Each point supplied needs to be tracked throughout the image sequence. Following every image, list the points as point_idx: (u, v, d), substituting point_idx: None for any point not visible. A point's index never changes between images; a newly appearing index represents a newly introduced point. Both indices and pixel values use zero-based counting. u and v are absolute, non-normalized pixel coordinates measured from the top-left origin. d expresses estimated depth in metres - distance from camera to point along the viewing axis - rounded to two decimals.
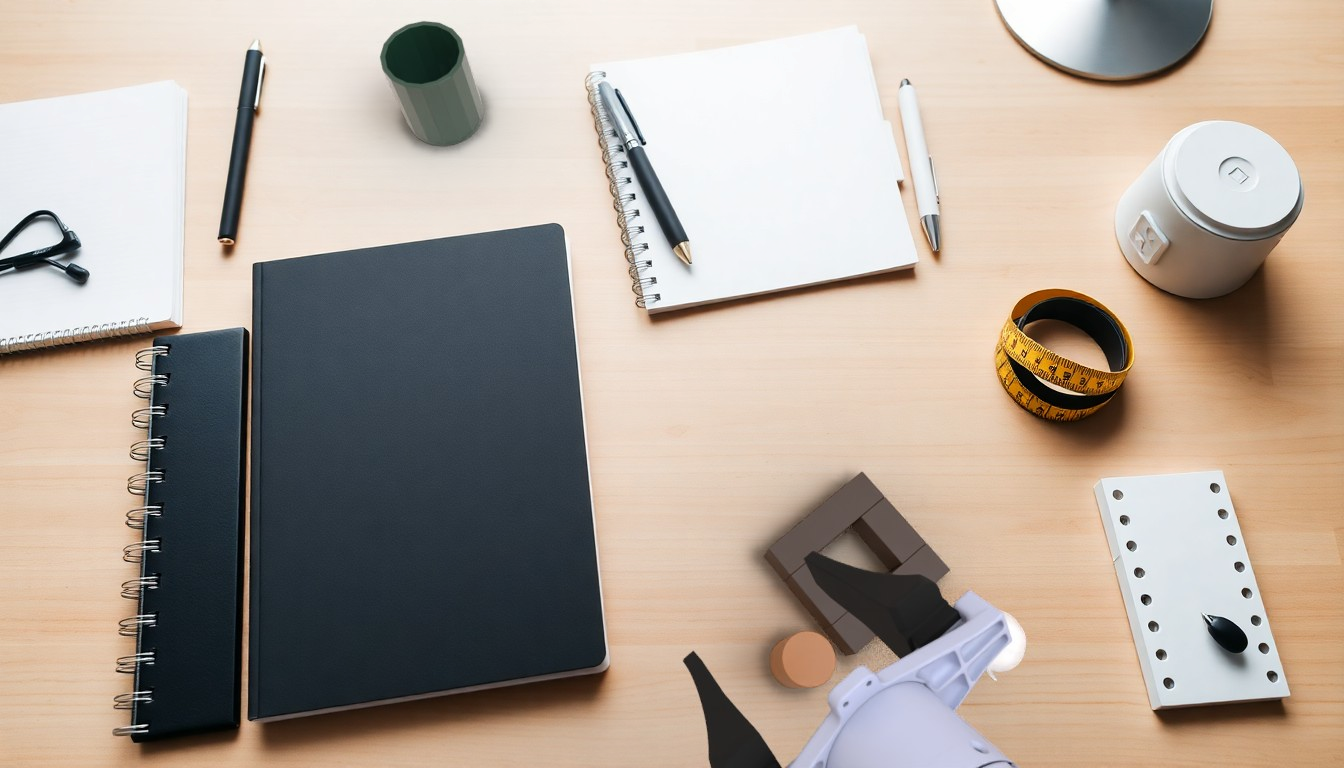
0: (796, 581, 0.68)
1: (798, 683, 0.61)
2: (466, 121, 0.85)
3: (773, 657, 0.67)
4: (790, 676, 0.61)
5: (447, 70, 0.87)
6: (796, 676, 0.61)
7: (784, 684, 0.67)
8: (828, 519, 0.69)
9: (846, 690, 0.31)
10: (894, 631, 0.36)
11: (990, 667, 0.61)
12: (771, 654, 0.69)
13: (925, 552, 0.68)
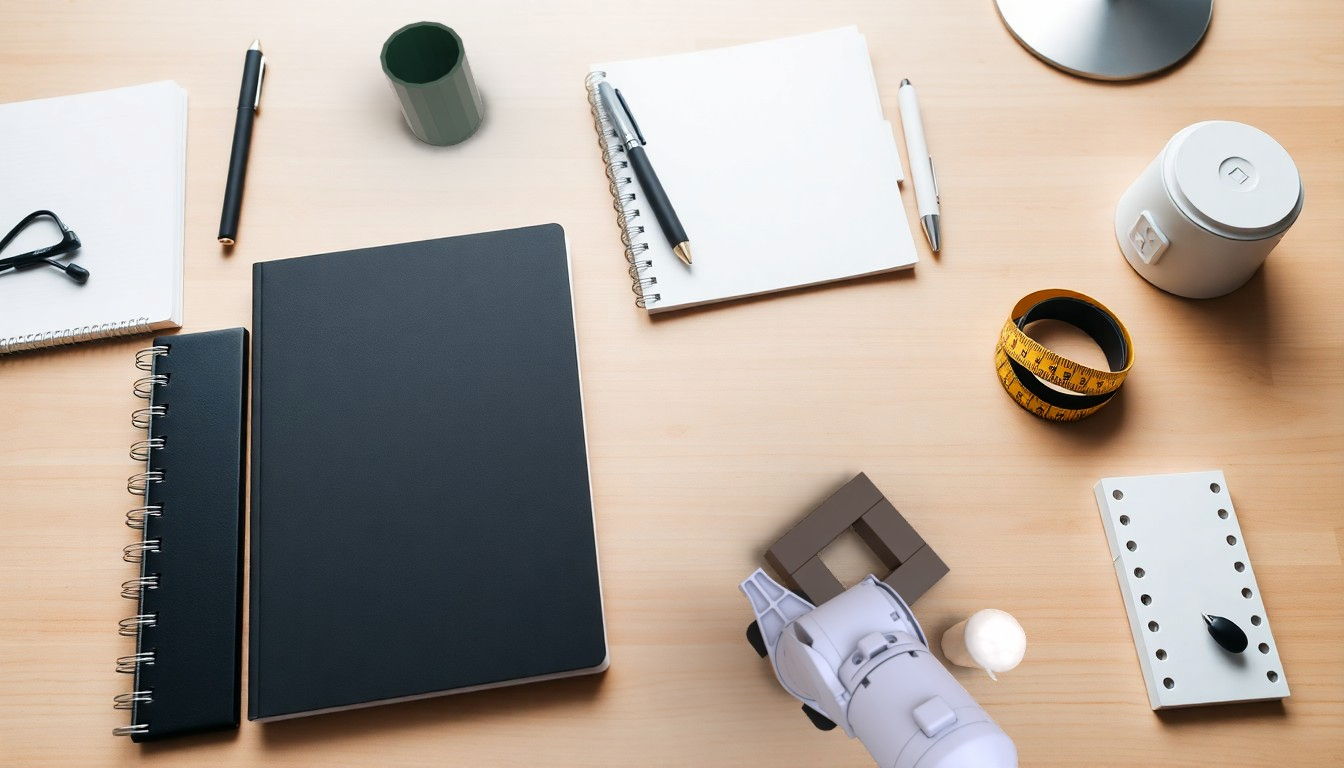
0: (796, 581, 0.68)
1: None
2: (466, 121, 0.85)
3: None
4: None
5: (447, 70, 0.87)
6: None
7: None
8: (828, 519, 0.69)
9: None
10: None
11: (990, 667, 0.61)
12: None
13: (925, 552, 0.68)
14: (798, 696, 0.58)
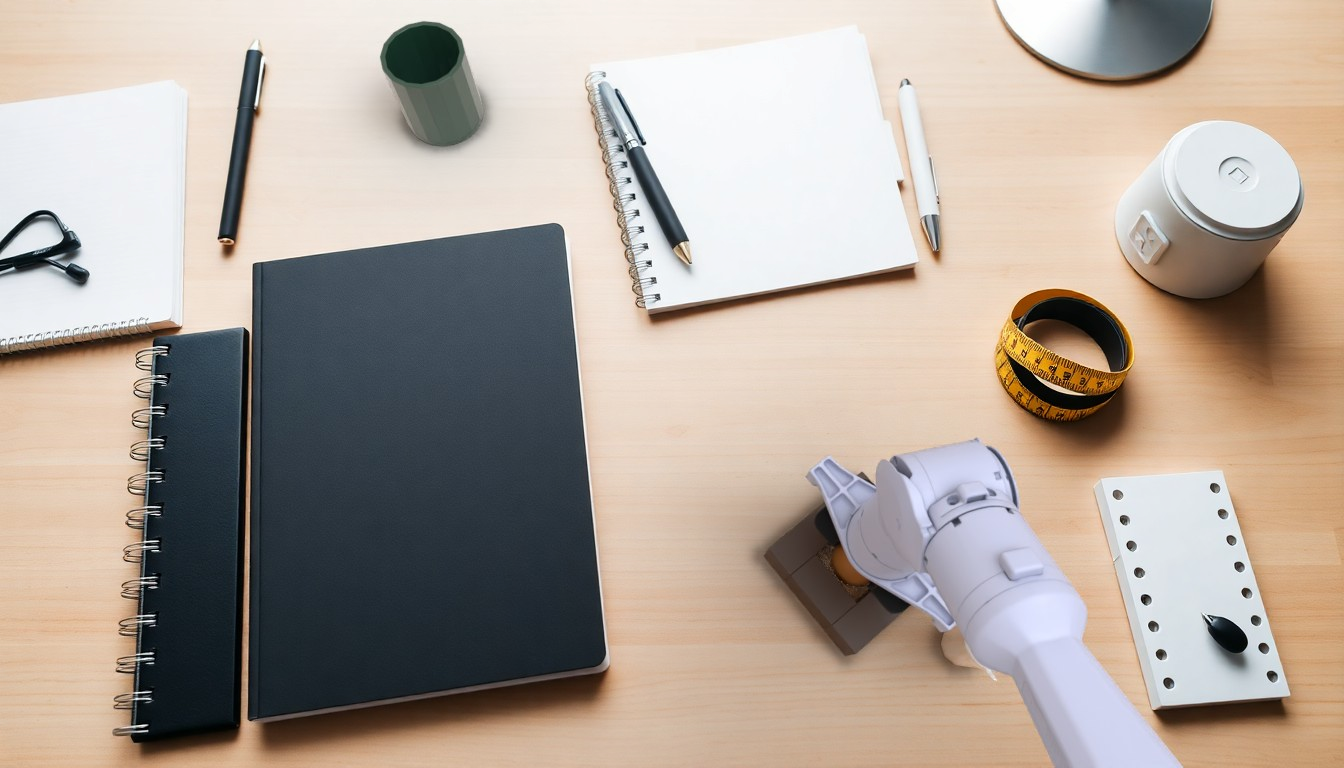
0: (796, 581, 0.68)
1: None
2: (466, 121, 0.85)
3: (835, 554, 0.68)
4: None
5: (447, 70, 0.87)
6: None
7: (846, 581, 0.68)
8: None
9: None
10: None
11: None
12: (832, 554, 0.70)
13: None
14: (870, 576, 0.58)
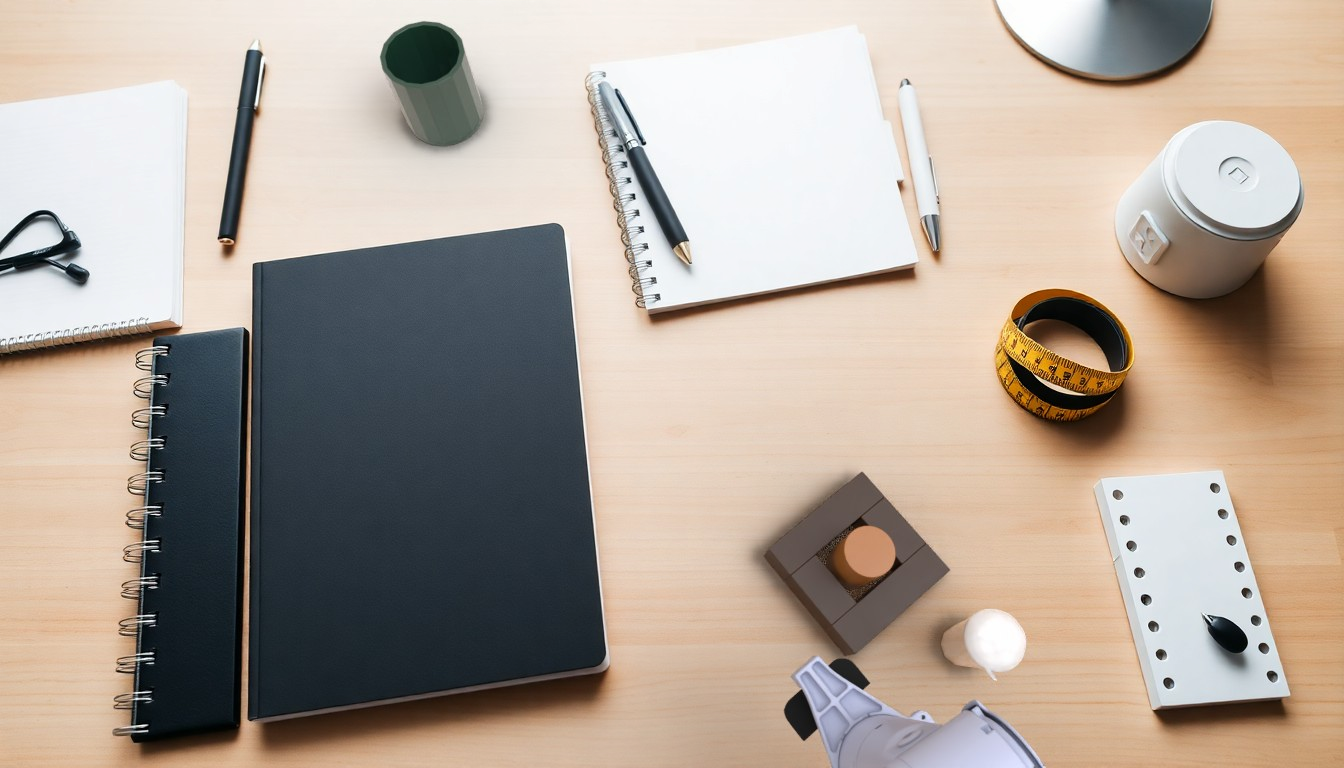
0: (796, 581, 0.68)
1: (860, 573, 0.64)
2: (466, 121, 0.85)
3: (831, 558, 0.70)
4: (852, 567, 0.64)
5: (447, 70, 0.87)
6: (858, 566, 0.64)
7: (841, 584, 0.70)
8: (828, 519, 0.69)
9: (930, 717, 0.50)
10: None
11: (990, 667, 0.61)
12: (827, 557, 0.72)
13: (925, 552, 0.68)
14: None
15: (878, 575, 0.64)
